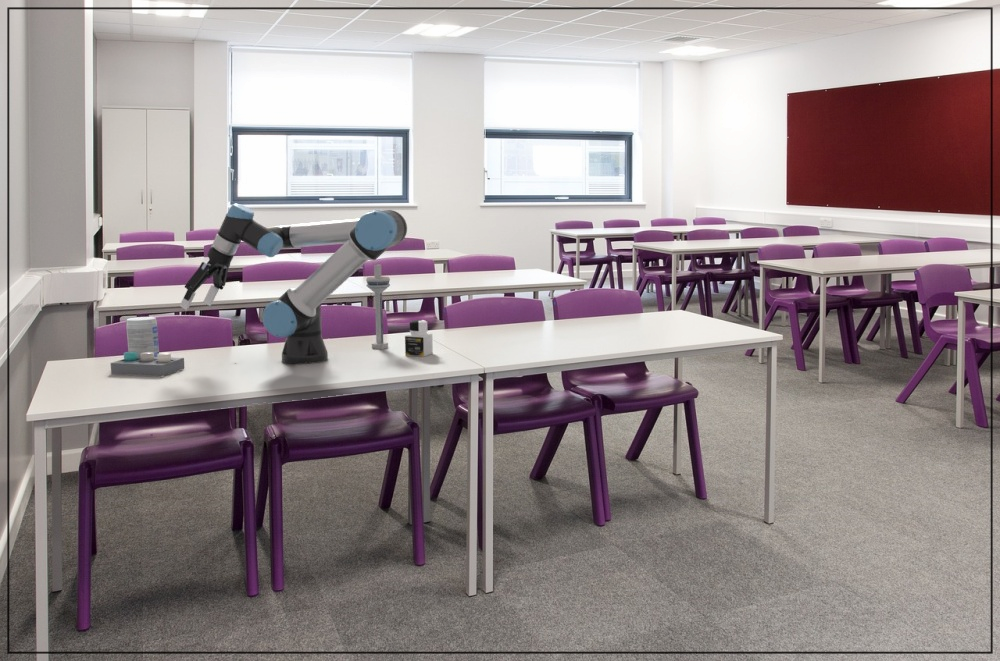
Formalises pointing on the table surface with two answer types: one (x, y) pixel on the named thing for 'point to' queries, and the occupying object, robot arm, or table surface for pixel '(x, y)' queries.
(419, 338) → the medicine bottle
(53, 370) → the table surface
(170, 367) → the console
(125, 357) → the teal button
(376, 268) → the model tower
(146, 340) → the supplement tub
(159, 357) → the ivory button
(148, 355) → the grey button
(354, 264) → the robot arm
